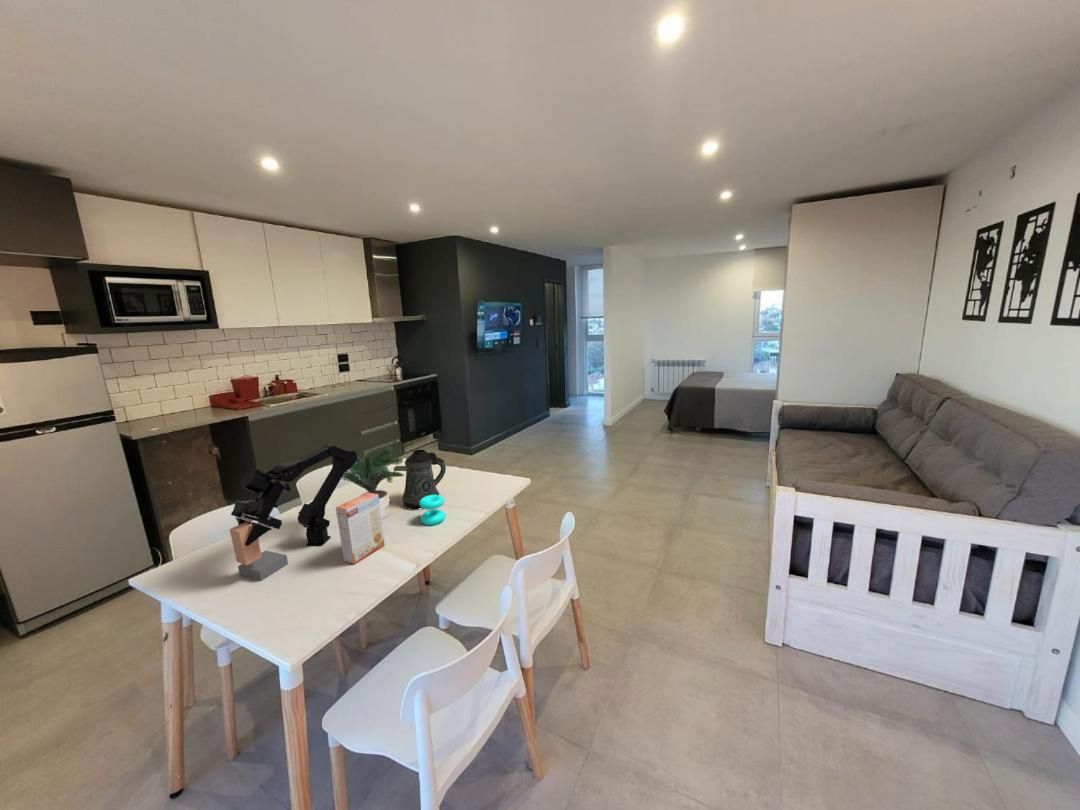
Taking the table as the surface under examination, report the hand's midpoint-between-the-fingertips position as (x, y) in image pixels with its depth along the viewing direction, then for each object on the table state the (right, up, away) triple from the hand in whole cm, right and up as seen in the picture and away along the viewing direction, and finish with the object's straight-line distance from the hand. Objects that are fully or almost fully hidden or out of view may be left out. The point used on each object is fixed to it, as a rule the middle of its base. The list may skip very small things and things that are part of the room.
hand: (241, 543), depth 136 cm
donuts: (+52, -4, +40) cm, 66 cm away
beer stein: (+43, 0, +59) cm, 73 cm away
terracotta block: (+1, -6, +3) cm, 7 cm away
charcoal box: (+2, -12, +8) cm, 15 cm away
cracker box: (+33, -9, +17) cm, 38 cm away
